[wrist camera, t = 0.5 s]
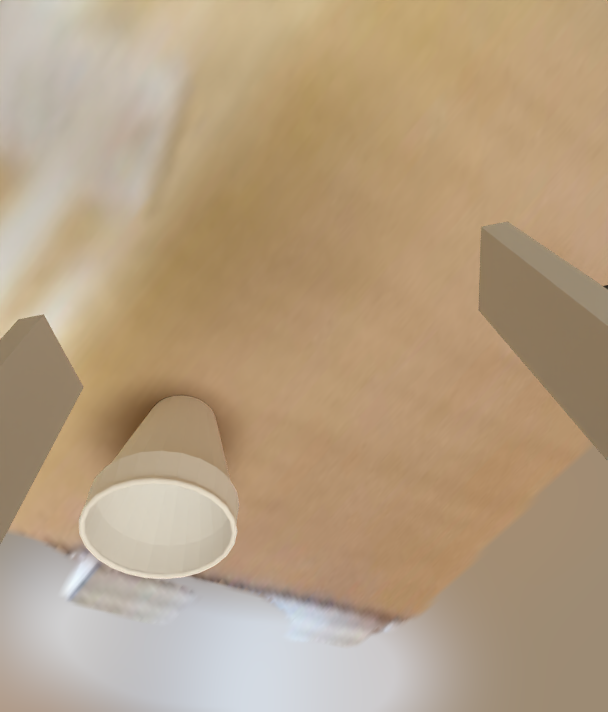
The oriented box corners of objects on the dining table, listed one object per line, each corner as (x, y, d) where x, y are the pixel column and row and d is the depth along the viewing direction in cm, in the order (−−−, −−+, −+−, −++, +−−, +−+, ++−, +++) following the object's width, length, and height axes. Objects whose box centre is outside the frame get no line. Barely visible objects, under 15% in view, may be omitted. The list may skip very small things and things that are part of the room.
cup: (241, 464, 53) (236, 578, 41) (128, 463, 51) (89, 581, 40) (244, 374, 46) (239, 480, 35) (114, 370, 45) (63, 479, 33)
